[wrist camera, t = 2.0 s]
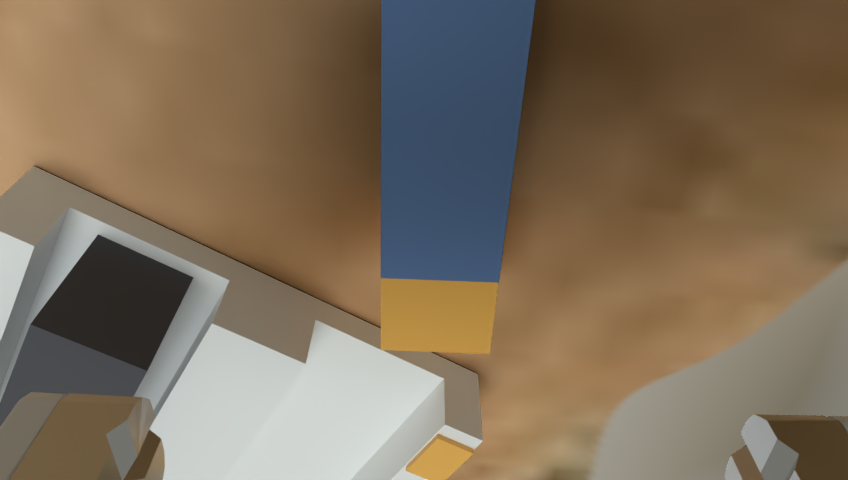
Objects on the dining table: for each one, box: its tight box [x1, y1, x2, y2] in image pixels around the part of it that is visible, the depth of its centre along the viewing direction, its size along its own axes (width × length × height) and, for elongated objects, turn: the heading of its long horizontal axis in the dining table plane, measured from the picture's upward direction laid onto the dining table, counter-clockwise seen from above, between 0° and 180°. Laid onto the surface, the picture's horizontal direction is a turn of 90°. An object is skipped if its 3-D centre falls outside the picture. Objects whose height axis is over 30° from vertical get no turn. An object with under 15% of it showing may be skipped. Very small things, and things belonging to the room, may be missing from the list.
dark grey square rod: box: [0, 234, 194, 426], centre depth 21 cm, size 12×3×4 cm, turn 148°
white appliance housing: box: [0, 166, 483, 480], centre depth 24 cm, size 13×16×3 cm
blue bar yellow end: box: [381, 0, 536, 354], centre depth 16 cm, size 12×3×4 cm, turn 178°
